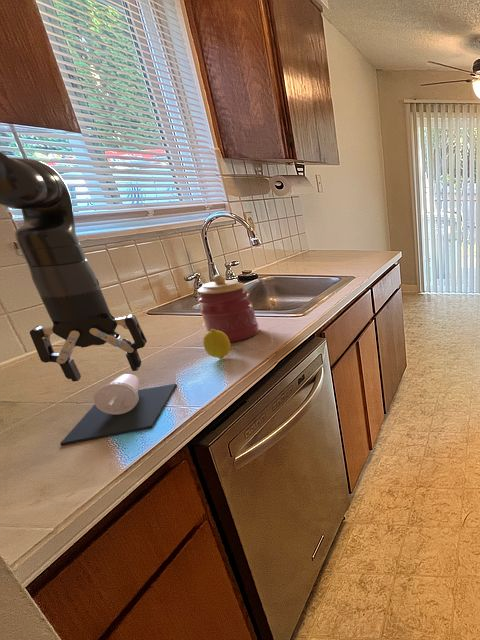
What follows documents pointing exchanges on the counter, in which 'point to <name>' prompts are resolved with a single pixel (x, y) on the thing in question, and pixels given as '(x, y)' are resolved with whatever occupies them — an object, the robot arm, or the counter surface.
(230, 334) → the kitchen canister
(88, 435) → the mat
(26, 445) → the counter surface
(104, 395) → the smoothie
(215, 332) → the lemon
